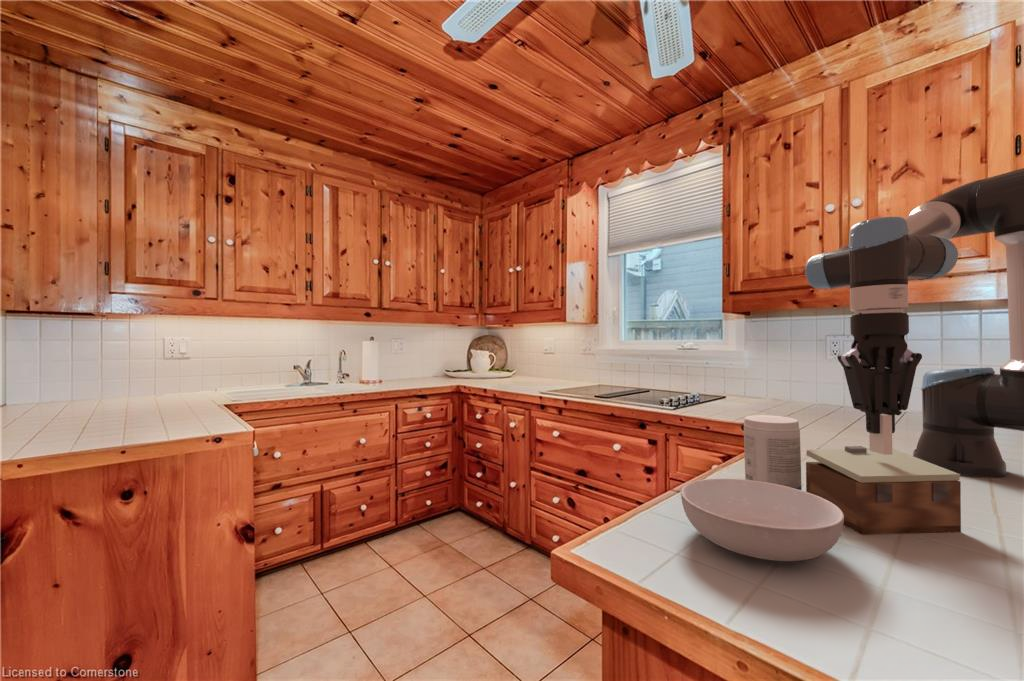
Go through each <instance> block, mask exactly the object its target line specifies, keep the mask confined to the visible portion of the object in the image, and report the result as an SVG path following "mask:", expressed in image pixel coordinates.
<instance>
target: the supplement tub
mask: <svg viewBox="0 0 1024 681" xmlns="http://www.w3.org/2000/svg"><path fill="white" fill-rule="evenodd" d="M743 420H744V421H743V422H744V423H743V442H744V443H743V444H744V447H743V449H744V474H745V476H744V477H745V478H744V480H752V481H760V482H766V483H772V484H778V485H782V486H787V487H791V488H795V489H798V490H802V460H801V459H802V457H801V456H802V454H801V452H802V451H801V430H800V426H799V425H800V424H799V420H798V419H796V418H793V417H790V416H789V417H788V416H783V415H769V414H768V415H767V414H766V415H765V414H757V415H755V414H754V415H752V414H751V415H746V416H745V417H744V419H743ZM802 491H803V490H802Z"/></svg>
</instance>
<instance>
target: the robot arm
mask: <svg viewBox="0 0 1024 681" xmlns="http://www.w3.org/2000/svg"><path fill="white" fill-rule="evenodd" d="M989 233H994V234H993V235H994V240H995V241H997V242H999V243H1001V244H1003V245H1004V246H1005V260H1006V261H1005V262H1006V285H1007V313H1008V333H1009V335H1008V336H1009V338H1008V339H1009V360H1008V361H1006V362H1005V363H1003V364H1002V365H1000V366H999V373H997V374H996V371H995V370H994V368H992V367H988V366H987V367H974V368H973V367H970V368H953V369H949V368H948V369H936V370H935V369H934V370H928V371H927V372H925V373H924V374H923V375H922V384H921V397H922V398H921V401H922V404H921V406H922V410H921V411H922V432H921V434H920V437H919V438H918V442H917V443H916V448H915V449H914V450H913V452H912V456H913V457H916V458H919V459H921V460H924V461H927V462H929V463H932V464H934V465H937V466H940V467H942V468H945V469H948V470H950V471H953V472H956V473H958V474H960V475H965V476H971V477H972V476H973V477H989V478H995V477H997V478H998V477H1004V476H1006V475H1007V463H1006V461H1005V460H1003V457H1002V456H1003V455H1002V453H1001V451H1000V449H999V446H998V444H997V441H996V438H995V428H998V429H1004V430H1012V431H1019V432H1024V167H1023V168H1020V169H1017V170H1016V169H1015V170H1012V171H1008V172H1006V173H1001V174H997V175H994V176H990V177H987V178H983V179H978V180H974V181H972V182H968V183H965V184H963V185H960V186H958V187H955V188H953V189H950V190H948V191H947V192H944V193H942V194H940V195H938V196H936V197H934V198H932V199H930V200H928V201H926V202H924V203H922V204H920V205H918V206H917V207H915V208H914V209H913V210H911V212H910V213H909V215H908V216H905V217H901V216H884V217H876V218H869V219H867V220H862V221H859V222H857V223H855V224H854V225H852V226H851V228H850V229H849V238H848V244H847V245H845V246H842V247H840V248H837V249H835V250H832V251H824V252H822V253H819V254H815V255H813V256H811V257H810V258H809V259H808V260H807V262H806V264H805V268H804V276H805V277H806V281H807V283H808V284H809V285H810V287H812V288H814V289H817V290H826V289H828V290H829V289H830V290H834V289H838V288H846V287H849V311H851V312H853V313H854V314H851V316H850V319H849V320H850V321H849V323H850V335H851V336H853V342H852V344H851V346H850V347H851V349H850V350H849V351H847V352H846V353H840V354H839V353H838V355H837V358H836V359H837V360H838V362H839V363H840V365H841V367H843V371H844V376H845V380H846V383H847V387H848V392H849V395H850V399H851V403H852V406H853V408H854V409H855V410H857V411H858V410H859V411H860V412H863V413H865V425H866V426H865V430H866V432H867V433H868V434H869V436H868V437H869V449H870V451H873V452H876V453H879V454H883V455H892V449H893V434H895V432H896V417H895V416H901V415H902V413H903V412H902V411H906V410H907V409H908V407H909V403H910V398H911V395H912V394H911V393H912V389H913V384H914V379H915V376H916V372H917V367H918V365H919V364H920V361H921V360H922V359H923V355H922V354H921V353H920V352H914V351H912V350H910V349H909V348H908V343H907V341H906V339H905V336H906V335H908V334H909V332H910V318H909V314H908V313H907V312H904V310H907V309H908V308H909V285H908V284H909V280H917V281H924V280H925V281H926V280H934V279H937V278H941V277H943V276H945V275H946V274H949V272H950V271H952V270H953V268H955V266H956V265H957V262H958V258H959V252H958V248H957V246H956V245H955V244H954V242H952V241H950V240H951V239H956V238H963V237H968V236H975V235H982V234H989Z"/></svg>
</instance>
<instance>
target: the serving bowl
mask: <svg viewBox="0 0 1024 681" xmlns="http://www.w3.org/2000/svg"><path fill="white" fill-rule="evenodd" d="M680 498H681V502H682V506H683V510H684V513H685V515H686V517H687V520H689V522H690V524H691V525H692V526H693V528H695V530H696V531H697V532H698V533H699V534H701V535H702V536H703V537H704V538H706V539H707V540H709V541H711V543H713V544H716V545H717V546H719V547H721V548H723V549H726V550H728V551H731V552H733V553H737V554H740V555H743V556H747V557H752V558H756V559H760V560H767V561H776V562H796V561H797V562H799V561H805V560H810V559H814V558H817V557H820V556H822V555H823V554H825V553H827V552H828V551H829V550H831V549H832V548H833V547H834V546H835V545H836V544H837V542H838V541H839V539H840V537H841V534H842V532H843V527H844V525H843V523H844V514H843V512H842V511H841V510H840V509H839V508H838V507H837V506H836V505H834V504H833V503H831V502H829V501H828V500H826V499H823V498H821V497H819V496H816V495H814V494H811V493H808V492H806V490H798V489H795V488H791V487H787V486H782V485H778V484H772V483H766V482H760V481H752V480H745V479H742V478H741V479H739V478H724V477H723V478H707V479H699V480H694V481H691V482H688V483H687V484H685V485H683V487H682V488H681V490H680Z"/></svg>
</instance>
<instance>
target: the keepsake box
mask: <svg viewBox="0 0 1024 681" xmlns="http://www.w3.org/2000/svg"><path fill="white" fill-rule="evenodd" d="M805 482H806V485H805V487H806V488H805V492H808V493H811V494H814V495H816V496H819V497H821V498H823V499H826V500H828V501H829V502H831V503H833V504H834V505H836V506H837V507H838V508H839V509H840V510H841V511H842V512H843V514H844V523H843V527H844V526H845V527H846V528H849V529H850V530H852V531H854V532H856V533H858V534H860V535H861V536H864V535H865V536H866V535H897V534H898V535H899V534H900V535H903V534H904V535H905V534H930V533H931V534H934V533H936V534H937V533H938V534H939V533H940V534H941V533H961V532H962V527H961V526H962V508H961V507H962V506H961V505H962V503H961V492H962V491H961V483H962V482H961V481H960V480H955V481H912V482H869V483H860V482H858V481H856V480H854V479H852V478H850V477H849V476H847V475H845V474H843V473H841V472H839V471H837V470H835V469H833V468H831V467H829V466H827V465H825V464H823V463H821V462H819V461H805Z"/></svg>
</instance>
